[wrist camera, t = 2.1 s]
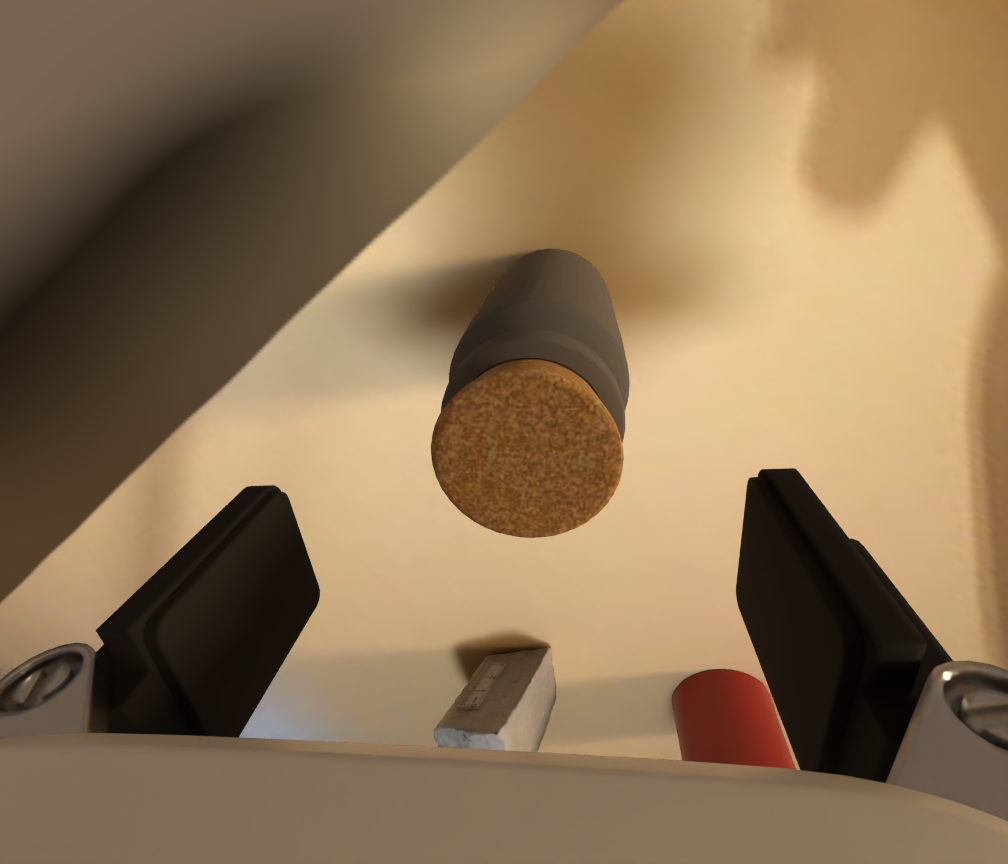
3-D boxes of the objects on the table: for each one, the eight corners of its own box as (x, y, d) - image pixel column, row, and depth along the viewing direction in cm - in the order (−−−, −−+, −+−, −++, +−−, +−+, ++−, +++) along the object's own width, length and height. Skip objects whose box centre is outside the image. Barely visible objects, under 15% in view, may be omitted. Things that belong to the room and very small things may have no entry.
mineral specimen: (537, 617, 35) (540, 750, 28) (565, 678, 40) (573, 802, 33) (434, 631, 36) (415, 761, 30) (474, 689, 41) (465, 810, 35)
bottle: (583, 380, 27) (591, 583, 14) (478, 342, 27) (385, 514, 14) (630, 271, 25) (695, 398, 11) (513, 229, 24) (440, 308, 11)
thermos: (673, 668, 36) (713, 876, 26) (774, 670, 35) (860, 889, 25) (670, 728, 39) (705, 938, 29) (764, 732, 38) (836, 951, 27)
